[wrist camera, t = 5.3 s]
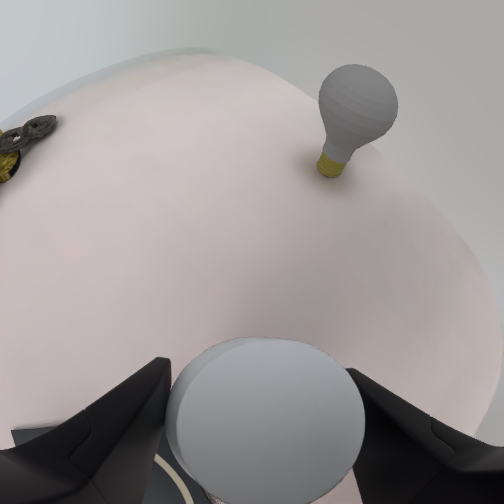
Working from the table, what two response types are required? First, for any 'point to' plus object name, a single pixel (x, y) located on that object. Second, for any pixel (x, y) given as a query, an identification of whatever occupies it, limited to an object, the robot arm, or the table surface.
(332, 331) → the table surface
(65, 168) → the table surface
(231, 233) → the table surface
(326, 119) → the light bulb
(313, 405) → the pill bottle
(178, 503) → the dark square coaster
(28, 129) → the corroded twin loop
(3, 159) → the decorative item
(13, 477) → the robot arm
